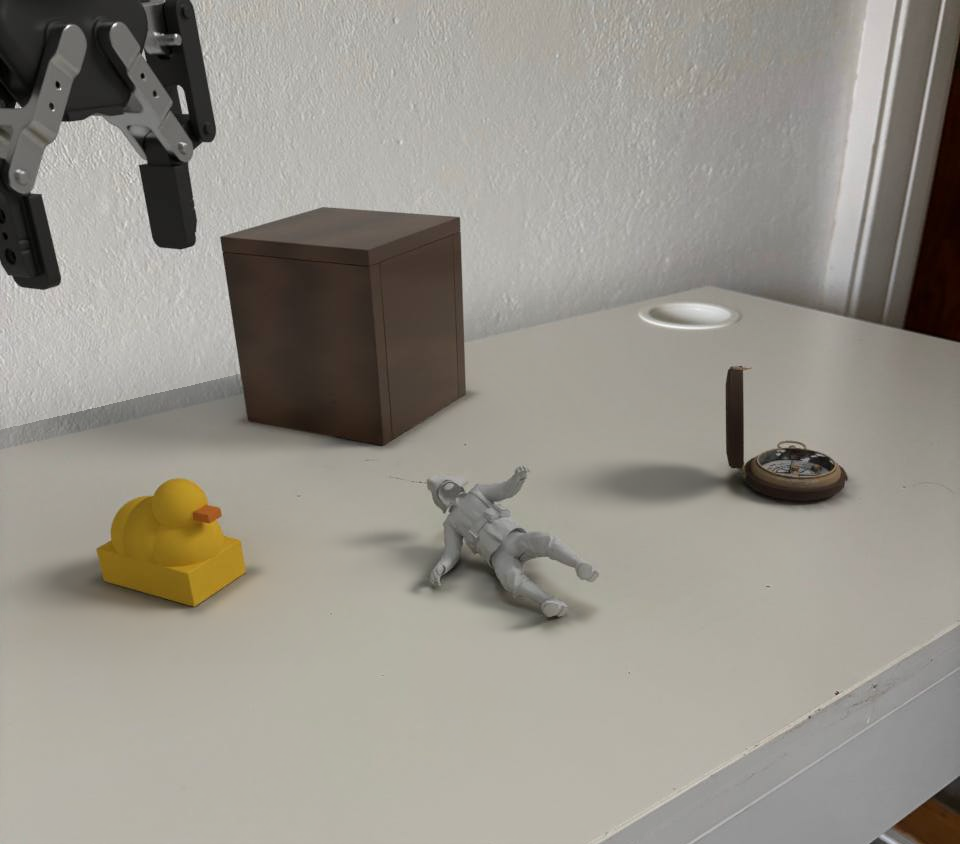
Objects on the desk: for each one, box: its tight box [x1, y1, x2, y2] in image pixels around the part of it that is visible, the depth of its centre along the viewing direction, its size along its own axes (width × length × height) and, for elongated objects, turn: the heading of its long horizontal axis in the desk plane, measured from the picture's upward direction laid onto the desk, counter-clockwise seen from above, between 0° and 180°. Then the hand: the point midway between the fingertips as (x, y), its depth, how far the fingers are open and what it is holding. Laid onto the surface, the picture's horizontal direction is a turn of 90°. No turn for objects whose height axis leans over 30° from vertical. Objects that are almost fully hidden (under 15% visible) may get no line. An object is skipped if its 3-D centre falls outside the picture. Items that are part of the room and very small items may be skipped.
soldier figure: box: [426, 465, 600, 618], centre depth 54 cm, size 8×5×12 cm
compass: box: [725, 365, 849, 502], centre depth 63 cm, size 8×8×7 cm
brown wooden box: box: [219, 206, 467, 446], centre depth 75 cm, size 12×12×13 cm
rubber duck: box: [96, 477, 247, 607], centre depth 54 cm, size 7×4×6 cm, turn 62°
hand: (111, 265), depth 47 cm, fingers open, 8 cm apart
